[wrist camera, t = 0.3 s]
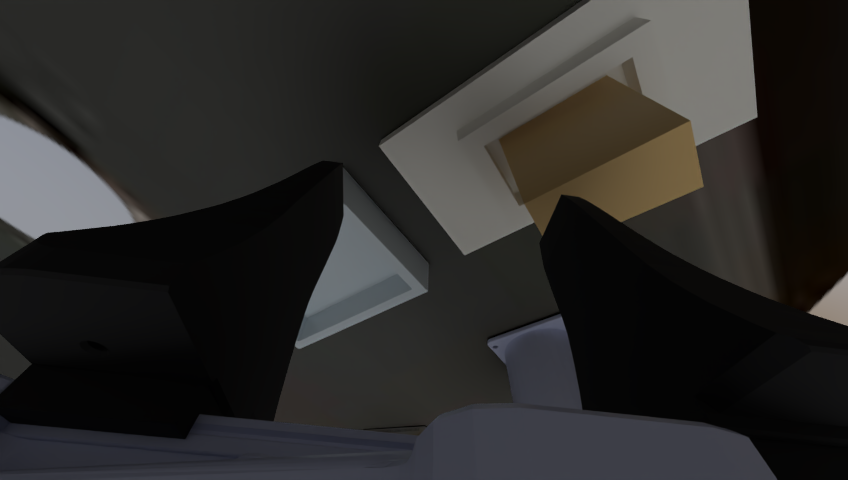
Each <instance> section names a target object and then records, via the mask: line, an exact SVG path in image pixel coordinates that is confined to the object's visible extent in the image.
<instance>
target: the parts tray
mask: <svg viewBox="0 0 848 480" xmlns="http://www.w3.org/2000/svg"><path fill="white" fill-rule="evenodd" d="M343 208H344V217H343V221H342V224H341V228H340V231H339V235H338V238H337V241H336V243H335V245H334V248H333V250H332V252H331V254H330V256H329V259H328V261H327V263H326V265H325V267H324V269H323V271H322V274H321V276H320V278H319V280H318V282H317V284H316V287H315V289H314V291H313V293H312V296H311V298H310V301H309V303H308V306H307V309H306V312H305V315H304V318H303V321H302V324H301V327H300V330H299V333H298V337H297V340H296V343H295V347H297V348H298V349H300V348H303V347H305V346H307V345H309V344H312V343H314V342H316V341H318V340H321V339H323V338H325V337H327V336H329V335H332V334H334V333H336V332H338V331H341V330H343V329H345V328H347V327H350V326H352V325H354V324H356V323H359V322H361V321H363V320H365V319H367V318H370V317H372V316H374V315H376V314H379V313H381V312H383V311H385V310H388V309H390V308H392V307H394V306H397V305H399V304H401V303H403V302H405V301H408V300H410V299H412V298H414V297H417V296H419V295H421V294H423V293H426V292H428V275H429V263H428V262H427V261H426V260H425V259H424V258H423V257H422V255H421V254H420V253H419V252H418V251H417V250H416V249H415V248H414V246H413V245H412V244H411V243H410V242H409V241H408V240H407V238H406V237H405V236H404V235H403V234H402V233H401V232H400V231H399V229H398V228H397V227H396V226H395V225H394V224H393V223H392V222H391V220H390V219H389V218H388V217H387V216H386V215H385V214H384V213H383V211H382V210H381V209H380V208H379V207H378V206H377V205H376V204H375V202H374V201H373V200H372V199H371V198H370V197H369V196H368V195H367V193H366V192H365V191H364V190H363V189H362V188H361V187H360V185H359V184H358V183H357V182H356V181H355V180H354V179H353V178H352V176H351V175H350V174H349V173H348V172H347V171H346V170H345V169H344V167H343Z"/></svg>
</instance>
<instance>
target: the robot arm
mask: <svg viewBox="0 0 848 480" xmlns="http://www.w3.org/2000/svg"><path fill="white" fill-rule="evenodd" d="M343 217H344V208H343V163H337V162H330V161H321V162H319V163H316V164H314V165H312V166H310V167H308V168H306V169H304V170H302V171H300V172H298V173H296V174H294V175H292V176H290V177H288V178H286V179H284V180H282V181H280V182H278V183H275V184H273V185H271V186H269V187H266V188H264V189H262V190H259V191H257V192H255V193H252V194H250V195H247V196H244V197H241V198H239V199H235V200H232V201H229V202H226V203H223V204H220V205H216V206H213V207H209V208H205V209H201V210H197V211H193V212H189V213H185V214H181V215H176V216H171V217H166V218H161V219H155V220H149V221H143V222H137V223H131V224H124V225H117V226H109V227H100V228H91V229H82V230H72V231H63V232H52V233H46V234H44V235H42V236H40V237H39V238H37V239H36V240H34V241H33V242H31V243H29V244H28V245H26V246H25V247H23V248H21V249H20V250H18V251H17V252H15V253H13V254H12V255H10V256H9V257H7V258H5V259H4V260H2V261H1V262H0V334H1V335H2V336H3V337H4V338H5V339H6V340H7V341H8V342H9V343H10V344H11V345H12V346H14V347H15V348H16V349H17V350H18V351H19V352H20V353H21V354H22V355H23V356H24V357H25V358H26V359H27V360H28V361H29V362H31V363H33V364H32V365H30V366H29V367H28V368H27V369H26V370H25V371H24V372H23V373H22V374H21V375H20V376H19V377H18V378H16V379H15V380H14V379H12V378H10V377H7V376H4V375H2V374H0V480H848V326H846V325H843V324H840V323H836V322H834V321H830V320H827V319H824V318H821V317H818V316H815V315H811V314H809V313H806V312H803V311H801V310H798V309H795V308H793V307H790V306H787V305H784V304H782V303H779V302H776V301H774V300H771V299H768V298H766V297H763V296H761V295H758V294H756V293H753V292H751V291H749V290H746V289H744V288H742V287H739V286H737V285H735V284H732V283H730V282H728V281H726V280H723V279H721V278H719V277H717V276H714V275H712V274H710V273H708V272H706V271H704V270H702V269H700V268H698V267H696V266H694V265H692V264H690V263H688V262H686V261H684V260H683V259H681V258H679V257H677V256H675V255H673V254H671V253H670V252H668V251H666V250H664V249H663V248H661V247H659V246H658V245H656V244H654V243H653V242H651V241H649V240H648V239H646V238H644V237H643V236H641V235H640V234H638V233H637V232H635V231H634V230H632V229H630V228H629V227H627V226H626V225H624V224H623V223H621V222H620V221H618V220H617V219H615V218H614V217H612V216H611V215H609V214H608V213H606V212H605V211H603V210H602V209H600V208H599V207H597V206H595V205H594V204H592V203H590V202H589V201H587V200H585V199H583V198H581V197H576V196H569V195H562V194H561V196H560V198H559V201H558V203H557V205H556V207H555V210H554V212H553V214H552V216H551V218H550V221H549V223H548V225H547V227H546V230H545V232H544V234H543V236H542V238H541V241H540V249H541V255H542V260H543V265H544V269H545V272H546V275H547V278H548V280H549V283H550V286H551V289H552V292H553V294H554V297H555V300H556V303H557V305H558V308H559V311H560V314H558V315H555V316H553V317H550V318H547V319H544V320H541V321H539V322H536V323H533V324H530V325H527V326H524V327H522V328H519V329H516V330H513V331H510V332H507V333H505V334H502V335H499V336H496V337H493V338H491V339H489V340H488V341H487V343H488V346H489V347H490V348H491V349H492V350H493V351H494V352H495V354H496V355H497V356H498V357H499V358H500V359H501V360H502V361H503V362H504V363H505V364H506V366H507V371H508V377H509V383H510V388H511V394H512V399H513V403H491V404H472V405H469V406H466V407H463V408H459V409H456V410H453V411H450V412H447V413H443V414H440V415H439V416H438V417H437V418H436V419H435V420H434V421H433V422H432V423H431V424H430V425H429V426H428V427H427V428H426V429H425V430H424V431H423V432H422V433H421V434H420V435H419V436H418V435H407V434H397V433H387V432H377V431H366V430H356V429H346V428H335V427H325V426H315V425H305V424H294V423H284V422H274V417H275V413H276V409H277V406H278V402H279V398H280V394H281V391H282V387H283V384H284V380H285V377H286V373H287V370H288V366H289V363H290V359H291V356H292V353H293V350H294V346H295V343H296V340H297V337H298V333H299V330H300V327H301V324H302V321H303V318H304V315H305V312H306V309H307V306H308V303H309V301H310V298H311V296H312V293H313V291H314V289H315V287H316V284H317V282H318V280H319V278H320V276H321V274H322V271H323V269H324V267H325V265H326V263H327V261H328V259H329V256H330V254H331V252H332V250H333V248H334V245H335V243H336V241H337V238H338V235H339V231H340V228H341V224H342V221H343Z"/></svg>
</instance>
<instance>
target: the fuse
mask: <svg viewBox="0 0 848 480" xmlns="http://www.w3.org/2000/svg"><path fill="white" fill-rule="evenodd" d="M499 141H500V144H501V146H502V149H503V152H504V154H505V157H506V159H507V162H508V164H509V167H510V169H511V172H512V174H513V177H514V180H515V182H516V185H517V187H518V190H519V192H520V195H521V197H522V200H523V203H524V205H525V206H526V208H527V210H528V212H529V213H530V215H531V217H532V219H533V220H534V222H535V224H536V225H537V227H538V229H539V231H540V232H541V234H542V236H543V234H544V232H545V230H546V227H547V225H548V223H549V221H550V218H551V216H552V214H553V212H554V210H555V207H556V205H557V203H558V201H559V198H560V196H561V194H562V195H569V196H576V197H581V198H583V199H585V200H587V201H589V202H590V203H592V204H594V205H595V206H597V207H599V208H600V209H602V210H603V211H605V212H606V213H608V214H609V215H611V216H612V217H614V218H615V219H617V220H618V221H620V222H622V221H625V220H627V219H629V218H632V217H634V216H636V215H639V214H641V213H643V212H646V211H648V210H650V209H653V208H655V207H657V206H660V205H662V204H664V203H667V202H669V201H671V200H674V199H676V198H678V197H681V196H683V195H685V194H688V193H690V192H692V191H695V190H697V189H699V188H702V187H704V186H703V181H702V176H701V171H700V166H699V161H698V156H697V151H696V146H695V140H694V135H693V130H692V125H691V121H690V120H689V119H687V118H685V117H683V116H681V115H679V114H677V113H676V112H674V111H672V110H670V109H668V108H666V107H665V106H663V105H661V104H659V103H657V102H655V101H653V100H652V99H650V98H648V97H646V96H644V95H642V94H641V93H639V92H637V91H635V90H633V89H631V88H629V87H628V86H626V85H624V84H622V83H620V82H618V81H616V80H615V79H613V78H611V77H609V76H607V75H606V76H605V77H603V78H601V79H599V80H598V81H596V82H594V83H593V84H591V85H589V86H588V87H586V88H584V89H583V90H581V91H579V92H578V93H576V94H574V95H573V96H571V97H569V98H568V99H566V100H564V101H563V102H561V103H559V104H557V105H556V106H554V107H552V108H551V109H549V110H547V111H546V112H544V113H542V114H541V115H539V116H537V117H536V118H534V119H532V120H531V121H529V122H527V123H526V124H524V125H522V126H521V127H519V128H517V129H515V130H514V131H512V132H510V133H509V134H507V135H505V136H504V137H502V138H500V139H499Z"/></svg>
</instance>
